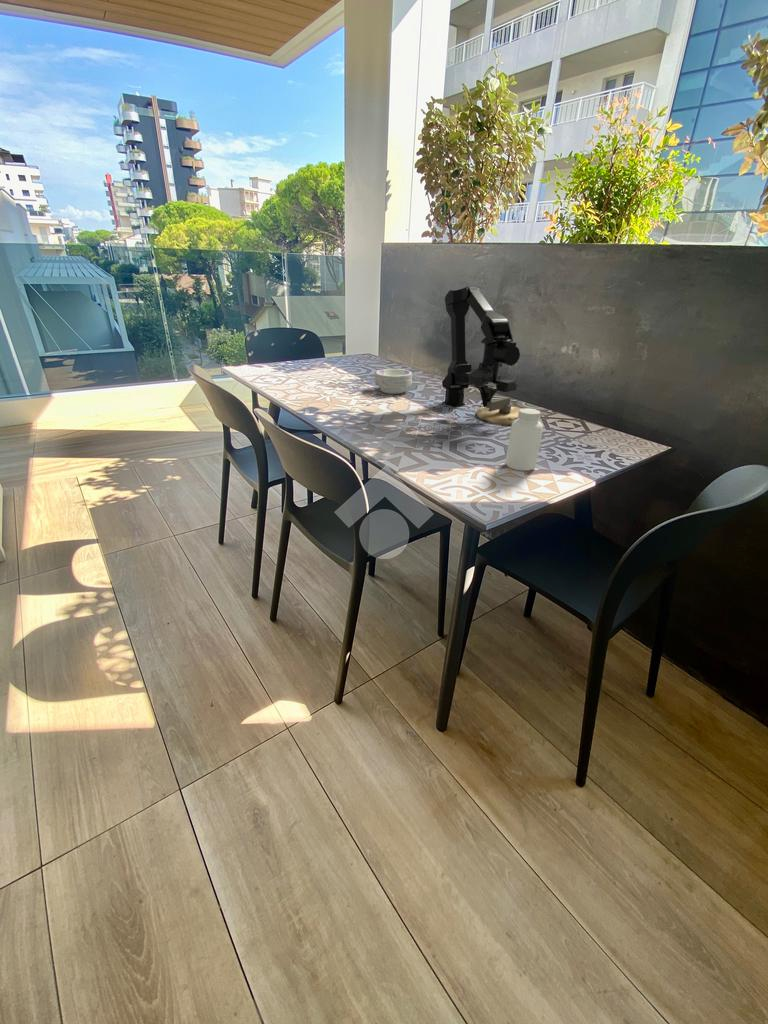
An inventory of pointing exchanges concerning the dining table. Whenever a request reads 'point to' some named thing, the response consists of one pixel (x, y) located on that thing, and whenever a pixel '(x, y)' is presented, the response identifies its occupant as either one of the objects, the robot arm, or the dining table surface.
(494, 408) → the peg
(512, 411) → the dial board
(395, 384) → the white stone bowl
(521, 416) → the pill bottle
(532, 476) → the dining table surface
